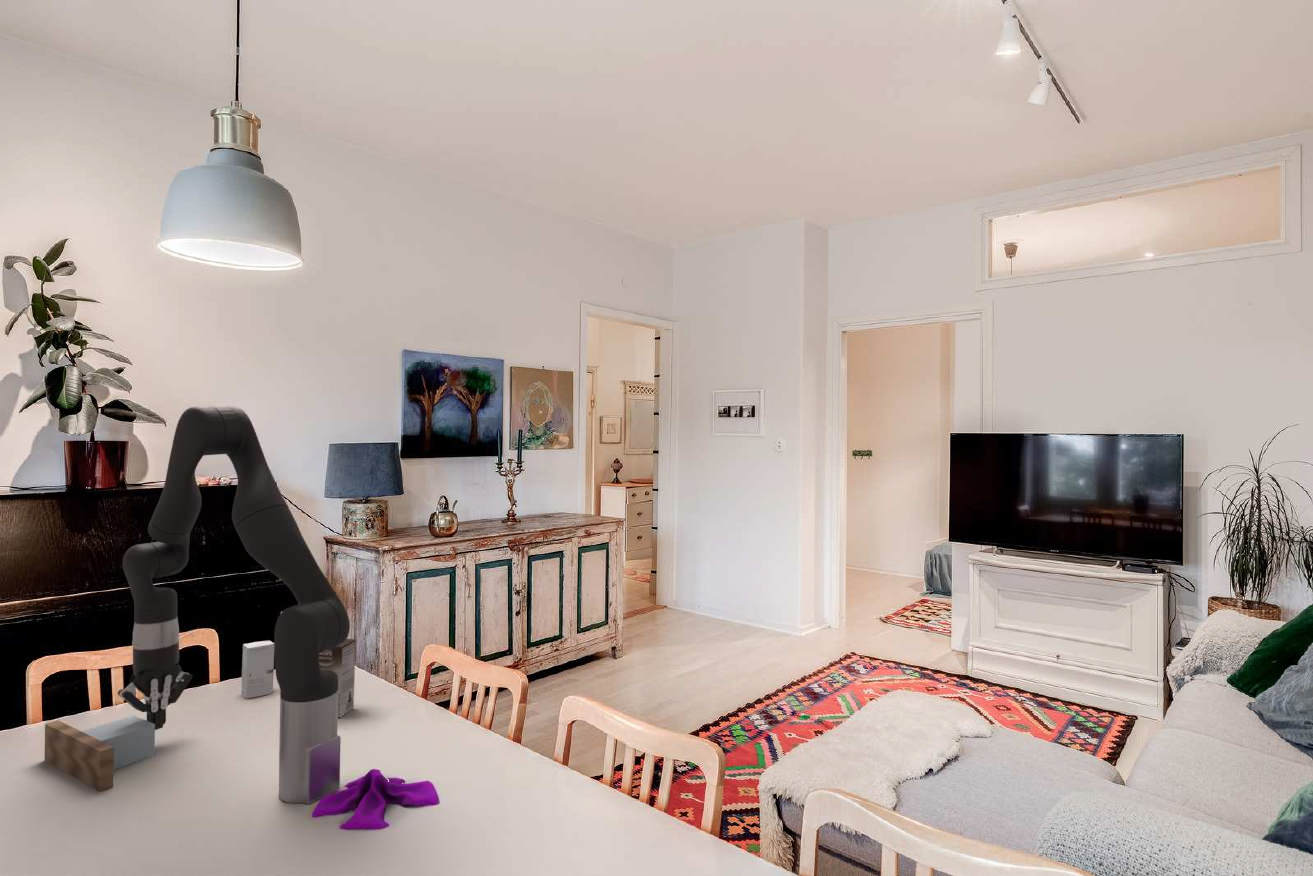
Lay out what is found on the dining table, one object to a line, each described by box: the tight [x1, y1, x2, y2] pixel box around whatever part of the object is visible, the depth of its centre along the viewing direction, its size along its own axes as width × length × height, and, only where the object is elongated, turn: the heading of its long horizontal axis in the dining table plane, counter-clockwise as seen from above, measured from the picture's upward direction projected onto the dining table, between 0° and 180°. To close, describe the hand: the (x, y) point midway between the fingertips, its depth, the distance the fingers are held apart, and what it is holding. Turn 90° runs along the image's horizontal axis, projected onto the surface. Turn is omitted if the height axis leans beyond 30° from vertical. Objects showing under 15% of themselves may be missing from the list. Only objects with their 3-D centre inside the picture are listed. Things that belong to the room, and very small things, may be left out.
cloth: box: [311, 768, 440, 831], centre depth 122 cm, size 22×19×6 cm
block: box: [80, 715, 156, 770], centre depth 134 cm, size 8×10×6 cm
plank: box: [44, 719, 115, 792], centre depth 129 cm, size 22×2×7 cm, turn 60°
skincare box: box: [240, 639, 275, 700], centre depth 169 cm, size 6×4×12 cm
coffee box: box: [319, 638, 356, 718], centre depth 159 cm, size 9×6×16 cm
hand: (156, 728), depth 140 cm, fingers closed
